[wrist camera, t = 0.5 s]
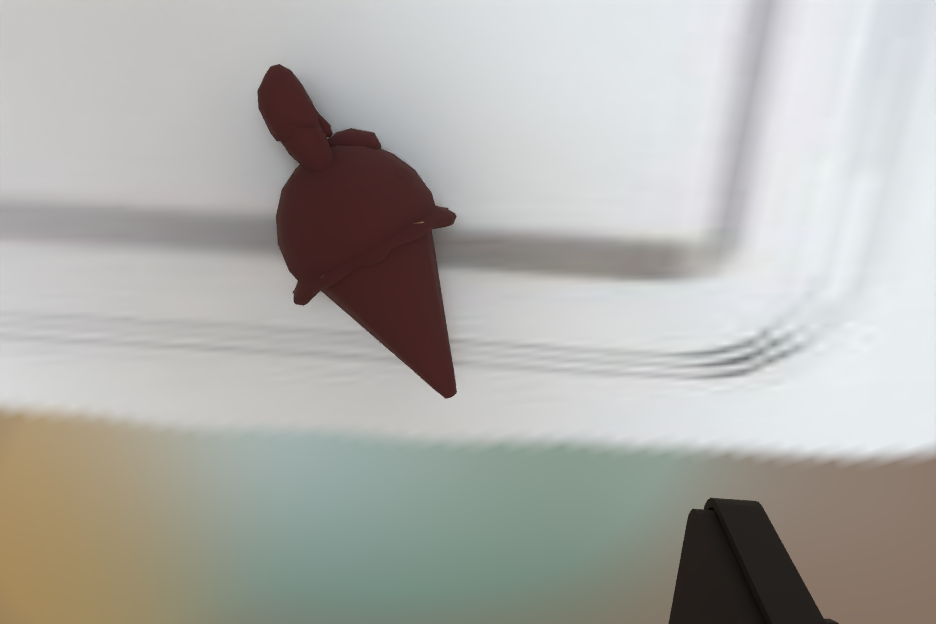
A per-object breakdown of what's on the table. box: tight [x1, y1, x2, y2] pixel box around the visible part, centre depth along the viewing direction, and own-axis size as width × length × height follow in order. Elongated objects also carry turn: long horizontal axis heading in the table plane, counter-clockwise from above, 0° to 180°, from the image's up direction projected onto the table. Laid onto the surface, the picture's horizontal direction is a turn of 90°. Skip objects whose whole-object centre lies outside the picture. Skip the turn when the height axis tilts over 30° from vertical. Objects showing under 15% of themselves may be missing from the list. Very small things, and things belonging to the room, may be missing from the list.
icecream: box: [258, 64, 457, 399], centre depth 35 cm, size 7×7×15 cm
